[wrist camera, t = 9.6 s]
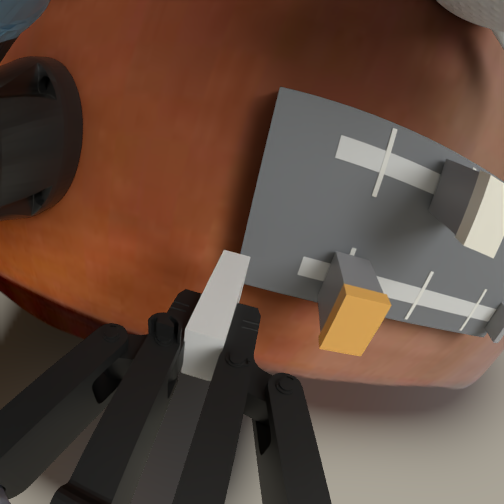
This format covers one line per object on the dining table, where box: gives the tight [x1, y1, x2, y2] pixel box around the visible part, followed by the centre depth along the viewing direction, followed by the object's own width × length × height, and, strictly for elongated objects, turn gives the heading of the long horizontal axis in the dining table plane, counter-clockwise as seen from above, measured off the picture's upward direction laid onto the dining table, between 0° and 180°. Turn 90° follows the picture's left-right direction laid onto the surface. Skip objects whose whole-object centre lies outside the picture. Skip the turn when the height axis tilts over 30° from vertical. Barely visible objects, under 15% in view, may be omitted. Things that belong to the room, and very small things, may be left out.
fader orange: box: [318, 251, 392, 356], centre depth 16 cm, size 3×4×5 cm
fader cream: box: [428, 159, 504, 259], centre depth 12 cm, size 3×4×5 cm
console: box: [240, 87, 504, 343], centre depth 17 cm, size 24×13×4 cm, turn 77°
